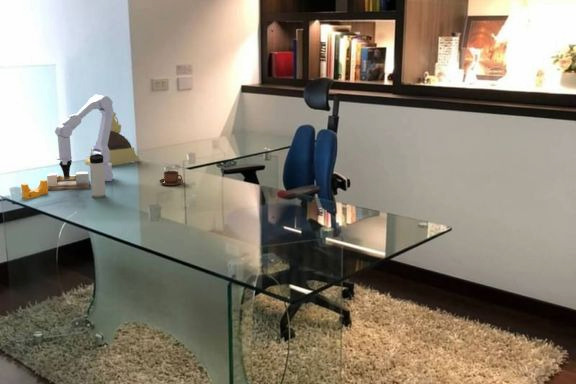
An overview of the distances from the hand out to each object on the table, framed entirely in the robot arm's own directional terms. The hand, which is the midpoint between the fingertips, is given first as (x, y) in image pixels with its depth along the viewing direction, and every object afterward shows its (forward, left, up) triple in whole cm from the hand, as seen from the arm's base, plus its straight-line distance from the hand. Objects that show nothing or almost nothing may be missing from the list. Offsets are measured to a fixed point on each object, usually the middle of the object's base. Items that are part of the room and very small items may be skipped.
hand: (66, 175), depth 323 cm
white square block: (+7, 0, -5) cm, 9 cm away
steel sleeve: (-7, 0, -5) cm, 9 cm away
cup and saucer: (-51, +5, -6) cm, 52 cm away
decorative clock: (-23, -51, -6) cm, 56 cm away
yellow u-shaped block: (+13, +15, -6) cm, 21 cm away
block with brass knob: (-2, 0, -3) cm, 3 cm away
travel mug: (-15, +22, -6) cm, 27 cm away
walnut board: (0, 0, -5) cm, 5 cm away
